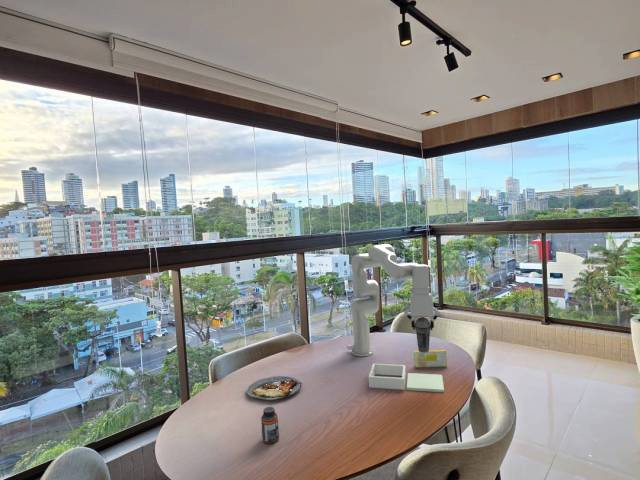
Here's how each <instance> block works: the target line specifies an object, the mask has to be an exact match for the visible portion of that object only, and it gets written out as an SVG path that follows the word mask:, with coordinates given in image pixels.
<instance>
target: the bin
mask: <svg viewBox="0 0 640 480" xmlns="http://www.w3.org/2000/svg"><path fill="white" fill-rule="evenodd" d="M406 368H407V367H406V364H405V365H404V364H391V363H390V364H389V363H388V364H387V363H372V365H371V368H370V371H369V374H368V387H369V388H373V389H389V390H403V391H404V390H405V388H406V381H407V380H406V377H407V370H406ZM379 375H380V376H379ZM384 375H386V376H384ZM394 376H399V377H394ZM400 376H401V377H400Z"/></svg>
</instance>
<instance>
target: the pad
mask: <svg viewBox="0 0 640 480" xmlns="http://www.w3.org/2000/svg"><path fill="white" fill-rule="evenodd" d="M406 391H418V392H434V393H445V388H444V379H443V375H442V374H437V373H434V374H433V373H417V372H416V373H415V372H413V373H412V372H407V380H406Z"/></svg>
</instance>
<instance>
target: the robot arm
mask: <svg viewBox="0 0 640 480" xmlns="http://www.w3.org/2000/svg"><path fill="white" fill-rule="evenodd" d="M397 259H398V258H397V255H396V253H395V249H394V247H393V246H392V245H390V244H388V243H387V244H386V243H384V244H374V245H372V246H370V247H369V249H368V251H367V252H366V253H358V254H355V255H353V257H352V258H351V260H350V266H351V271H352V295H353V296H354V297H355V298H359V299H355V300H353V301H352V302H351V303H350V306H349V308H350V312H351V318H352V320H351V321H352V330H353V332H352V335H353V336H352V337H353V344H347V345H346V349H347V350H351V354H352V355H353V356H356V357H368V356H372V355H373V354H374V350H373V349H372V348H371V333H370V322H369V319H368V318H367V317H366V316H368V315H373V314H376V313H378V311H379V309H380V286H379V283H378V282H377V281H376V280H374V279H369V278H368V272H367V270H366V269H373V268H379V267H382V266H383V270H384V272H385V274H386V275H388V276H389V277H391V278H392V279H394V280H397V281H403V280H404V281H405V280H409V279H411V281H412V282H411V283H412V287H411V288H409V292H411V294H410V303H409V304H410V306H409V307H408V308H407V309H406V310H404V311H403V313H404V315H405V316H406V317H407V318H408V319H409V320H410V323H411V328H413V329H412V330H416V329H415V322H416V321H415V317H419V318H421V317H424V318H426V317H428V318H429V319H430V321H429V322H430V325H431V329H430V331H433V329H434V328H435V324H434V323H435V321H436V320H437V319H438V317H439V316H441V311H440V310H438V309H437V308H435V307H434V301H433V295H432V293H431V292H430V291H431V290H430V273H429V272H430V270H429V269H430V268H429V265H427V264H423V263H422V264H420V263H418V262H405V263H397ZM409 312H410V313H409ZM434 312H435V314H434Z"/></svg>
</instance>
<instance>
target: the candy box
mask: <svg viewBox="0 0 640 480" xmlns="http://www.w3.org/2000/svg"><path fill="white" fill-rule="evenodd" d="M413 358H414V359H413V361H414V368H444V367H445V368H447V367H448V362H447V350H446V349H443V350H442V349H441V350H440V349H438V350H429V352H426V353H423V352H419V350H414V351H413Z"/></svg>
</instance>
